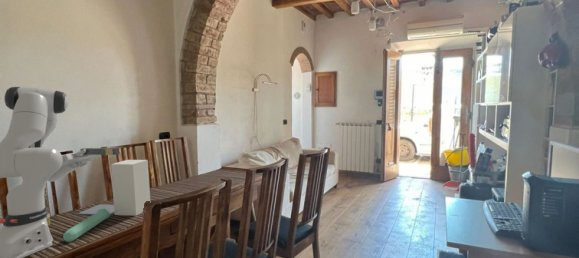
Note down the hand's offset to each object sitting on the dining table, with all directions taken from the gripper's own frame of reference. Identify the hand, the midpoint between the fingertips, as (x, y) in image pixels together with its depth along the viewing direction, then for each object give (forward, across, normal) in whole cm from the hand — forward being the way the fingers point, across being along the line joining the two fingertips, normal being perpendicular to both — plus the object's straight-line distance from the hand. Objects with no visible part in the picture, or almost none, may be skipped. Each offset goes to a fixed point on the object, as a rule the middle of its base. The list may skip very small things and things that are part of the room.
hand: (89, 149), depth 157 cm
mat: (-11, 0, +31) cm, 33 cm away
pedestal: (+4, 0, +40) cm, 40 cm away
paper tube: (-22, -23, +25) cm, 41 cm away
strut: (+4, 0, +5) cm, 7 cm away
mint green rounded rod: (-1, -24, +38) cm, 45 cm away
